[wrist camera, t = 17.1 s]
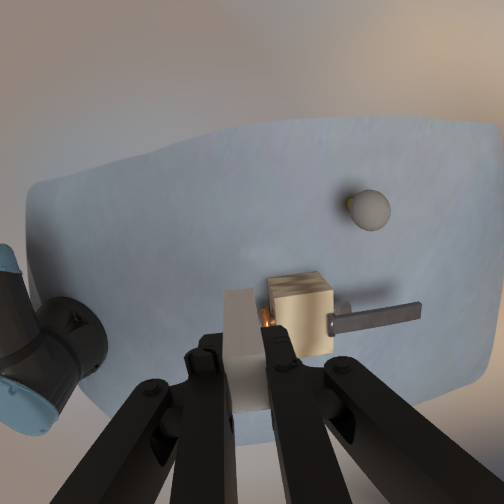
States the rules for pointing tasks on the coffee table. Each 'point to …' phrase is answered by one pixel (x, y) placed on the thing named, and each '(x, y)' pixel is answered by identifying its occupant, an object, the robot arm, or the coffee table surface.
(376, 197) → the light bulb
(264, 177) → the coffee table surface
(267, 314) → the pin
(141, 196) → the coffee table surface
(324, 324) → the block
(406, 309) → the bar
